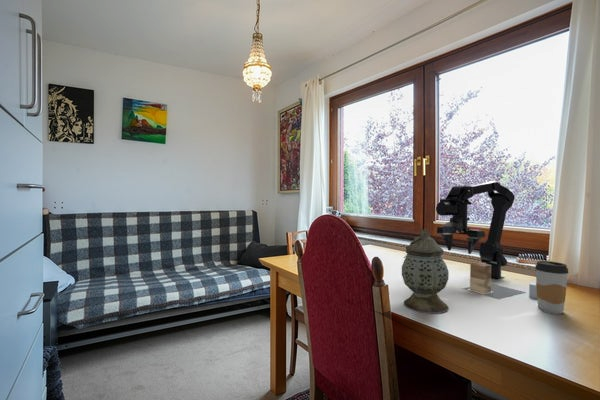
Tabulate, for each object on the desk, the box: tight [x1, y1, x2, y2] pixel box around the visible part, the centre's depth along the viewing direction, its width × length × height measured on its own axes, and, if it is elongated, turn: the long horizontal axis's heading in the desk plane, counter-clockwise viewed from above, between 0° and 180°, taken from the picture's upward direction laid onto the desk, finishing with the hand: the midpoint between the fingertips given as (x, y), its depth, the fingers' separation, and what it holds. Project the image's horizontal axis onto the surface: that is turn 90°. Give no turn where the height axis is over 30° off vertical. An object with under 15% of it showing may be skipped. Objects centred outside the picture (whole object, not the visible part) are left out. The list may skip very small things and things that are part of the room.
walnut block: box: [469, 262, 492, 280], centre depth 118 cm, size 5×5×5 cm
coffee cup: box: [534, 260, 569, 315], centre depth 99 cm, size 8×8×15 cm
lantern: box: [401, 229, 450, 315], centre depth 101 cm, size 14×14×25 cm
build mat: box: [461, 283, 527, 300], centre depth 118 cm, size 18×14×1 cm
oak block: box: [469, 276, 492, 293], centre depth 118 cm, size 5×5×5 cm
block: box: [528, 281, 537, 299], centre depth 111 cm, size 5×5×5 cm
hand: (459, 252), depth 132 cm, fingers open, 9 cm apart
